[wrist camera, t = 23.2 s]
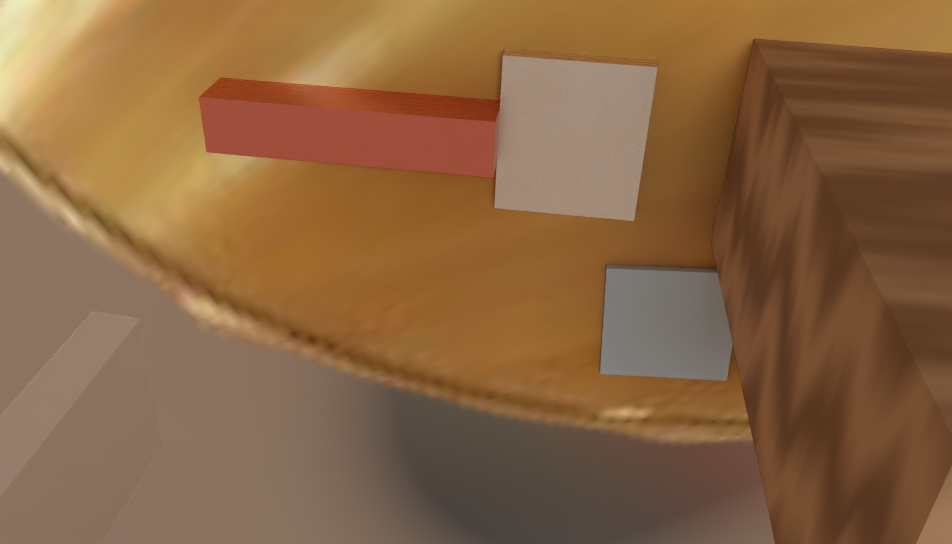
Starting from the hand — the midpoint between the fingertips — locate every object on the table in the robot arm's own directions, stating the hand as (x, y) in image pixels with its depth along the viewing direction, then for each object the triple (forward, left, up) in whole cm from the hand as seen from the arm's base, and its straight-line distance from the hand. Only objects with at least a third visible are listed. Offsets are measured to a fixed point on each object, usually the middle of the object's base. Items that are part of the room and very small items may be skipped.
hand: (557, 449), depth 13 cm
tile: (+21, -8, -36) cm, 42 cm away
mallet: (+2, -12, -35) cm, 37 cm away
